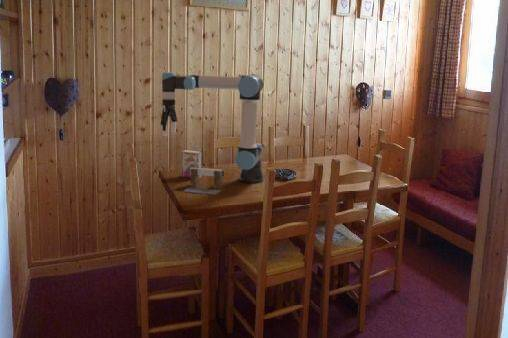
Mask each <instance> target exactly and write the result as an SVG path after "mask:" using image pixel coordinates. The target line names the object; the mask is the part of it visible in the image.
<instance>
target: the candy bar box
mask: <svg viewBox="0 0 508 338" xmlns="http://www.w3.org/2000/svg"><path fill="white" fill-rule="evenodd" d="M194 166H197V167H199V168H202V152H201V151H197V150H196V151H194V150H188V149H185V150H182V151H181V177H183V178H189V179H191V174H189V168H191V167H194ZM201 178H202V175H199V179H201Z"/></svg>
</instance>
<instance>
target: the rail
mask: <svg viewBox="0 0 508 338" xmlns="http://www.w3.org/2000/svg"><path fill="white" fill-rule="evenodd" d="M191 169H196V175H201V176H208V177H214V171H220V173H219V177H222V178H223V177H224V176H225V170H224V169H223V168H221V169H217V168H208V167H201V168H197V167H191V168H189V174H191Z"/></svg>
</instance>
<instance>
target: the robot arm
mask: <svg viewBox="0 0 508 338" xmlns="http://www.w3.org/2000/svg"><path fill="white" fill-rule="evenodd" d="M161 74H162V75H161V87H162V88H161V96H162V100H161V101H162V104H161V105H162V106H164V107H163V108H162V112H161V113H162V114H161V117H160V118H161V119H160V126H162V127H161V128H162V129H161V130H162V137H168V125H167V124H168V120H169V117H170V120H171V121H170V132H171V133H176V122H178V117H177V113H176V99H175V98H176V90H186V91H189V90H190V91H191V90H192V91H193V90H195V89H210V90H211V89H215V90H232V91H233V90H234V91H236V90H238V92H239V100H240V101H241V121H240V122H241V124H240V143H239V144H238V145H237V154H236V155H235V163H236V165H237V166H238V167H239V168H240V169H241V170H240V173H239V177H238V178H239V181H241V182H244V183H252V184H253V183H262V182H263V181H264V180H265V178H264V177H265V176H264V173H263V170H262V159H263V156H262V154H263V145H262V144H261V143H256V135H257V133H256V132H257V130H256V129H257V111H258V109H257V108H258V102H259V101H260V100H261V91H262V90H263V87H264V81H263V79H262V77H261V76H259V75H257V74H253V73H252V74H246V75H243V74H242V75H241V76H223V75H221V76H220V75H218V76H217V75H199V74H198V75H196V74H190V75H185V76H181V75H176V74H175V72H173V71H169V72H168V71H165V72H163V73H161ZM261 181H262V182H261Z"/></svg>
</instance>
